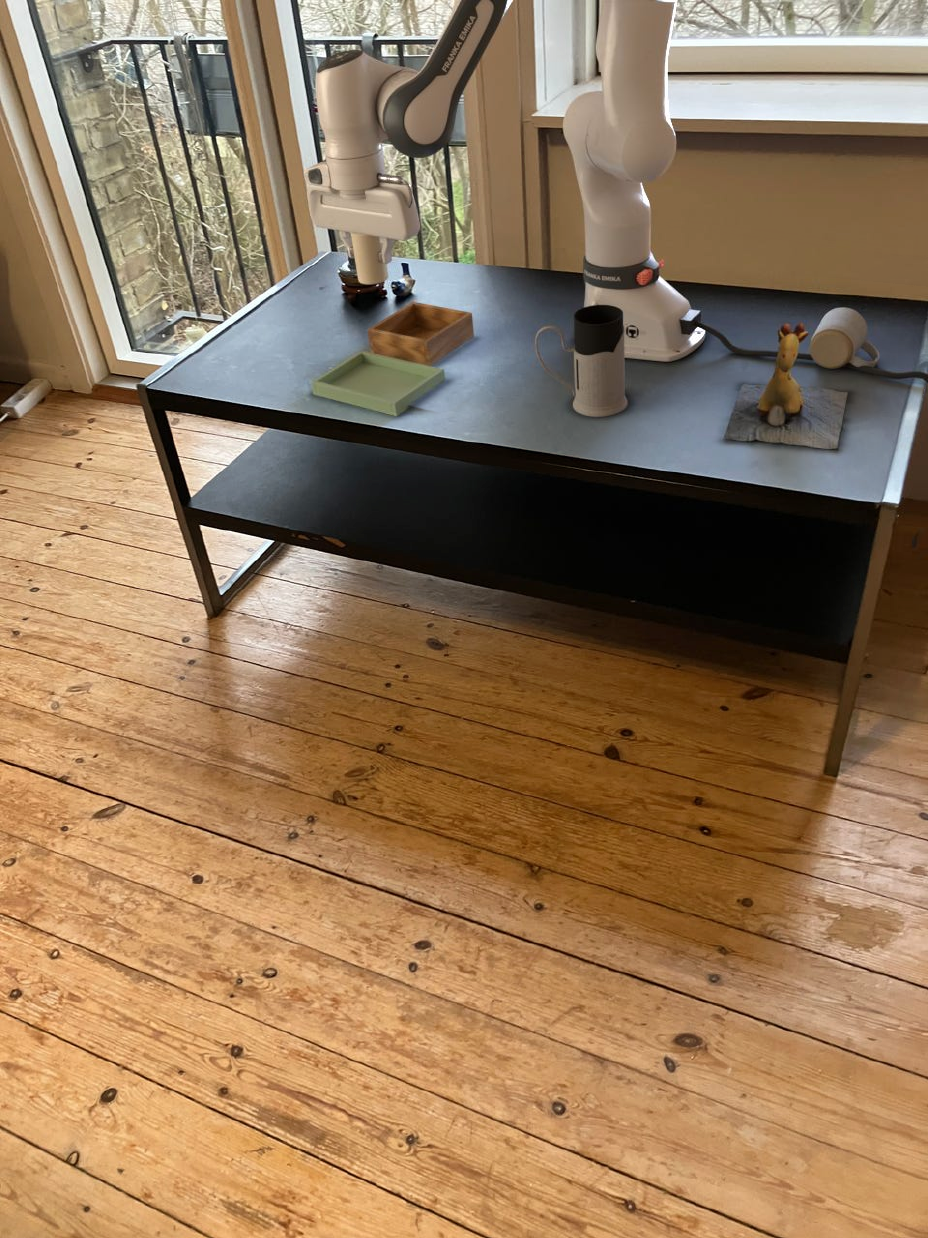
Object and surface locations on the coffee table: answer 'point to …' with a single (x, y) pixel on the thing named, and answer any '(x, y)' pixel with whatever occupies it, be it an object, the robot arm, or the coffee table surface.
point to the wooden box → (421, 333)
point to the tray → (377, 382)
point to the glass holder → (596, 360)
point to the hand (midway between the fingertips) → (370, 259)
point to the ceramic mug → (841, 340)
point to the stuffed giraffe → (787, 405)
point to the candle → (368, 259)
